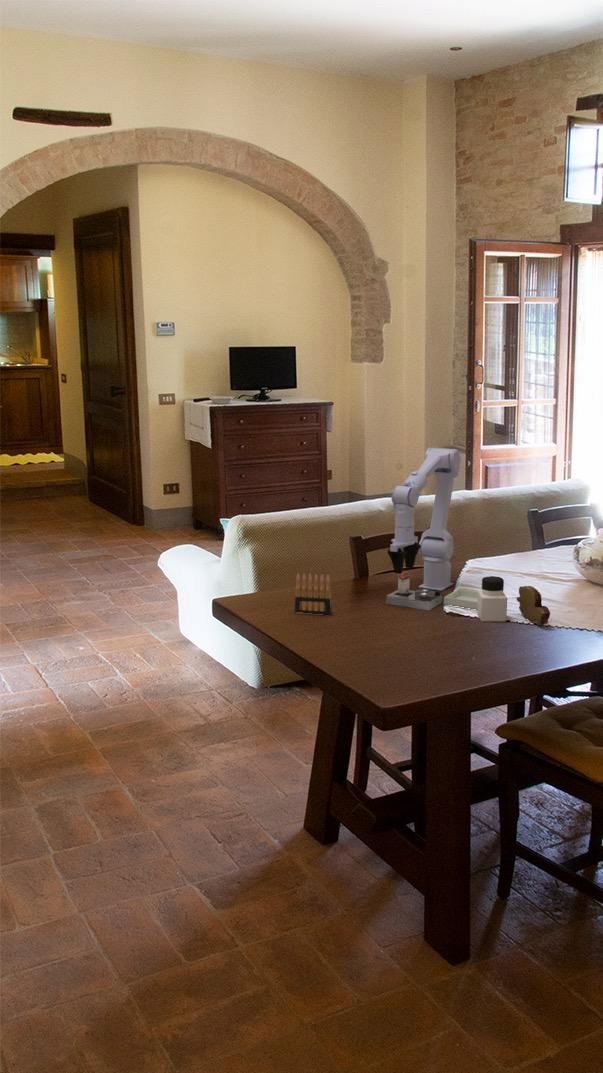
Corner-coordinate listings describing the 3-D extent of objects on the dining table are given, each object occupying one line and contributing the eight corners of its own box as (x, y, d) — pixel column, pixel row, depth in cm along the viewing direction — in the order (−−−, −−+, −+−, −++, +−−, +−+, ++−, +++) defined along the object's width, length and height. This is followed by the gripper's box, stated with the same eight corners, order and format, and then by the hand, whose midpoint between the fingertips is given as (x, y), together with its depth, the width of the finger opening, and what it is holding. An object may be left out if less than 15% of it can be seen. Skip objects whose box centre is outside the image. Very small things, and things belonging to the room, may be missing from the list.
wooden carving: (555, 628, 270) (557, 593, 268) (541, 630, 269) (542, 595, 267) (524, 612, 286) (526, 579, 284) (510, 614, 284) (511, 580, 282)
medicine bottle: (506, 621, 277) (508, 580, 274) (480, 621, 277) (482, 580, 275) (501, 614, 284) (503, 574, 281) (477, 614, 284) (478, 574, 282)
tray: (458, 596, 303) (458, 588, 302) (492, 601, 297) (492, 593, 296) (443, 605, 294) (443, 597, 293) (478, 610, 288) (478, 602, 287)
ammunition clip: (332, 614, 286) (331, 573, 283) (330, 615, 284) (330, 575, 282) (296, 612, 288) (295, 572, 286) (294, 613, 286) (294, 573, 284)
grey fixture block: (399, 596, 303) (399, 581, 302) (441, 603, 296) (442, 587, 295) (386, 603, 296) (386, 588, 295) (429, 610, 289) (429, 594, 288)
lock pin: (400, 599, 301) (400, 571, 299) (412, 601, 298) (413, 572, 296) (394, 602, 297) (394, 574, 295) (406, 604, 295) (407, 575, 293)
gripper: (403, 520, 301) (402, 563, 304) (381, 528, 289) (380, 573, 292) (424, 522, 297) (423, 566, 300) (403, 531, 285) (402, 576, 288)
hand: (403, 570), depth 296 cm, fingers open, 7 cm apart
